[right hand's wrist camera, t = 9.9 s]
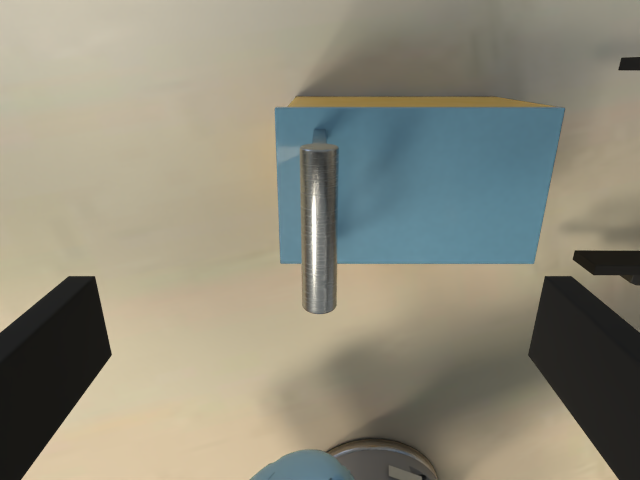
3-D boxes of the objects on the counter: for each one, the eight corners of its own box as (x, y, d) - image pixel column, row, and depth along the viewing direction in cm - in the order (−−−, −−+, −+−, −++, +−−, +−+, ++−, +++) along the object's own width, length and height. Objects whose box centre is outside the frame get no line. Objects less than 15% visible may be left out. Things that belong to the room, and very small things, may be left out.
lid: (281, 258, 28) (266, 332, 20) (276, 106, 25) (254, 124, 17) (528, 258, 28) (609, 332, 20) (558, 106, 25) (669, 124, 17)
